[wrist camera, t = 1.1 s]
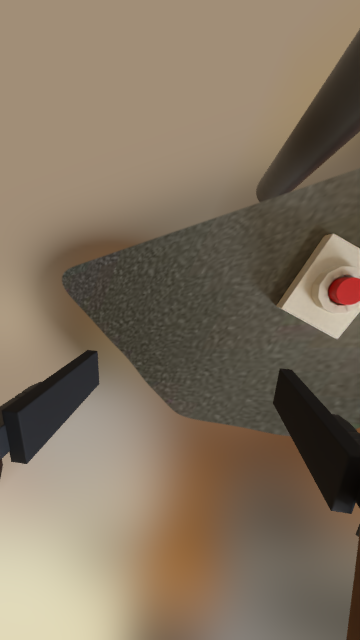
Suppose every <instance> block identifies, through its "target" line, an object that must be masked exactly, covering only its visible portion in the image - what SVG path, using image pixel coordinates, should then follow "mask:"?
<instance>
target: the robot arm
mask: <svg viewBox="0 0 360 640" xmlns="http://www.w3.org/2000/svg"><path fill="white" fill-rule="evenodd" d="M98 385H99V372H98V354H97V351H91V350H87V351H86V352H84V353H83V354H81V355H80V356H79V357H77V358H76V359H74V360H73V361H71V362H70V363H69V364H67V365H66V366H64V367H63V368H61V369H60V370H59V371H57V372H56V373H54V374H53V375H51V376H50V377H49V378H47V379H46V380H44V381H43V382H39V383H37V384H34V385H32V386H30V387H28V388H27V389H25V390H24V391H23V392H22V393H20V394H18V395H17V396H15V398H12V399H11V400H9V401H8V402H6V403H5V404H3V405H2V406H0V477H1V472H2V466H3V464H2V458H3V457H4V456H5V455H6V454H7V453H8V452H10V457H11V462H18V463H24V464H27V463H28V462H29V461H30V460H31V459H32V458H33V456H34V455H35V454H36V453H37V452H38V451H39V450H40V449H41V448H42V447H43V445H44V444H45V443H46V442H47V441H48V440H49V439H50V438H51V437H52V435H53V434H54V433H55V432H56V431H57V430H58V429H59V428H60V427H61V425H62V424H63V423H64V422H65V421H66V420H67V419H68V418H69V417H70V415H71V414H72V413H73V412H74V411H75V410H76V409H77V408H78V407H79V405H80V404H81V403H82V402H83V401H84V400H85V399H86V398H87V397H88V395H90V393H91V392H92V391H93V390H94V389H95V388H96V387H97V386H98ZM273 404H274V406H275V408H276V410H277V411H278V413H279V415H280V417H281V419H282V421H283V423H284V424H285V426H286V428H287V430H288V432H289V434H290V436H291V437H292V439H293V441H294V443H295V445H296V447H297V448H298V450H299V452H300V454H301V456H302V458H303V460H304V461H305V463H306V465H307V467H308V469H309V471H310V473H311V474H312V476H313V478H314V480H315V482H316V484H317V486H318V488H319V489H320V491H321V493H322V495H323V497H324V499H325V500H326V502H327V504H328V506H329V508H330V510H331V511H336V512H343V513H349V514H351V513H352V511H353V508H354V506H355V503H357V505H358V506H359V508H360V433H358V432H357V431H356V429H355V428H354V427H353V426H352V425H351V424H350V423H349V422H347V421H346V420H345V419H343V418H342V417H340V416H339V415H335V414H331V413H330V412H329V411H328V409H327V408H326V407H325V406H324V405H323V404H322V403H321V402H320V401H319V400H318V398H317V397H316V396H315V395H314V394H313V393H312V392H311V391H310V390H309V388H308V387H307V386H306V385H305V384H304V383H303V382H302V381H301V380H300V379H299V377H298V376H297V375H296V374H295V373H294V372H293V371H292V370H289V369H280V371H279V376H278V381H277V386H276V391H275V396H274V401H273ZM356 535H357V536H358V537H359V541H358V550H357V558H356V566H355V574H354V582H353V590H352V598H351V606H350V615H349V623H348V630H347V639H346V640H360V524H359V527H358V530H357V532H356Z"/></svg>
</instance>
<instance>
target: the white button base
mask: <svg viewBox="0 0 360 640" xmlns="http://www.w3.org/2000/svg"><path fill="white" fill-rule="evenodd" d="M342 277H355V278H359V279H360V248H358V247H356V246H355V245H353V244H351V243H349V242H348V241H346V240H344V239H342V238H341V237H339V236H337V235H335V234H330V235H326V236H324V237H323V238H322V240H321V241H320V243H319V244H318V246H317V247H316V248H315V250H314V251H313V253H312V254H311V256H310V257H309V259H308V260H307V262H306V263H305V265H304V266H303V267H302V269H301V270H300V272H299V273H298V275H297V276H296V278H295V279H294V281H293V282H292V284H291V285H290V286H289V288H288V289H287V291H286V292H285V294H284V295H283V297H282V298H281V300H280V301H279V303H278V304H277V305H276V306H277V307H279V308H281V309H282V310H284V311H286V312H288V313H290V314H291V315H293V316H295V317H297V318H299V319H300V320H302V321H304V322H306V323H308V324H309V325H311V326H313V327H315V328H317V329H319V330H320V331H322V332H324V333H326V334H328V335H329V336H331V337H333V338H335V339H338V338H339V336H340V335H341V334H342V333H343V332H344V330H345V329H346V328H347V327H348V325H349V324H350V323H351V322H352V321H353V319H354V318H355V317H356V316H357V314H358V313H359V312H360V301H359V302H358V303H356V304H353V305H344V304H340V303H336V302H334V301H332V300H331V299H330V297H329V293H328V291H329V287H330V285H331V284H332V283H333V282H334V281H335V280H337V279H339V278H342Z"/></svg>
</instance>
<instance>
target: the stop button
mask: <svg viewBox="0 0 360 640" xmlns="http://www.w3.org/2000/svg"><path fill="white" fill-rule="evenodd" d="M328 293H329V297H330V299H331V300H332V301H334V302H336V303H340V304H344V305H353V304H356V303H358V302H359V301H360V279H359V278H355V277H342V278H339V279H337V280H335V281H334V282H333V283H332V284H331V285H330V287H329V291H328Z"/></svg>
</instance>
